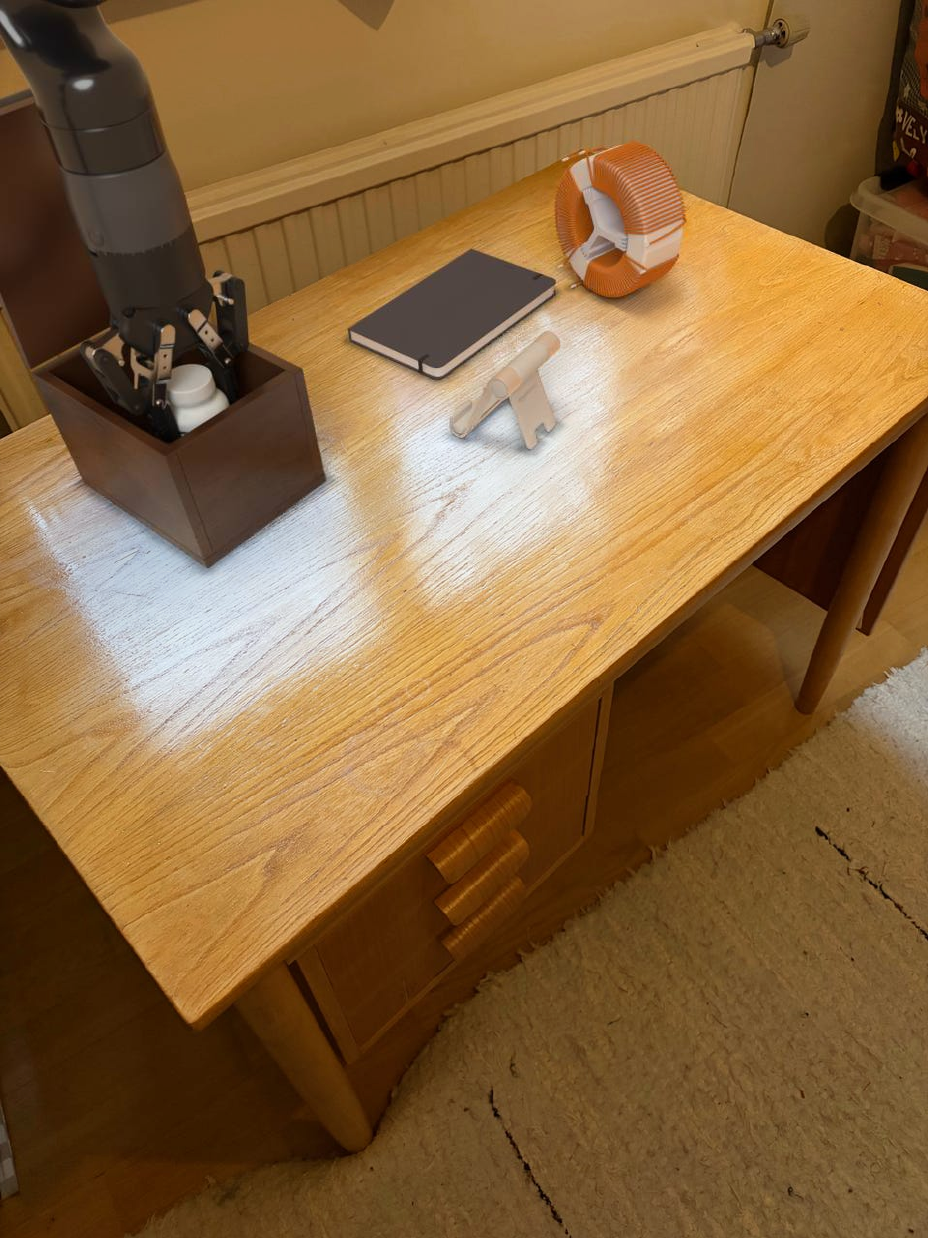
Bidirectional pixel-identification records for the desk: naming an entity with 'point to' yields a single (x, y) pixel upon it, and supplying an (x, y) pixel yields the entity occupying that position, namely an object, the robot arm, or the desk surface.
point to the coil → (619, 218)
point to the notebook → (453, 313)
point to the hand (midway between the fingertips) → (199, 421)
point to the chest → (193, 451)
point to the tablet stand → (514, 393)
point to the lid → (41, 244)
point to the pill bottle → (194, 396)
